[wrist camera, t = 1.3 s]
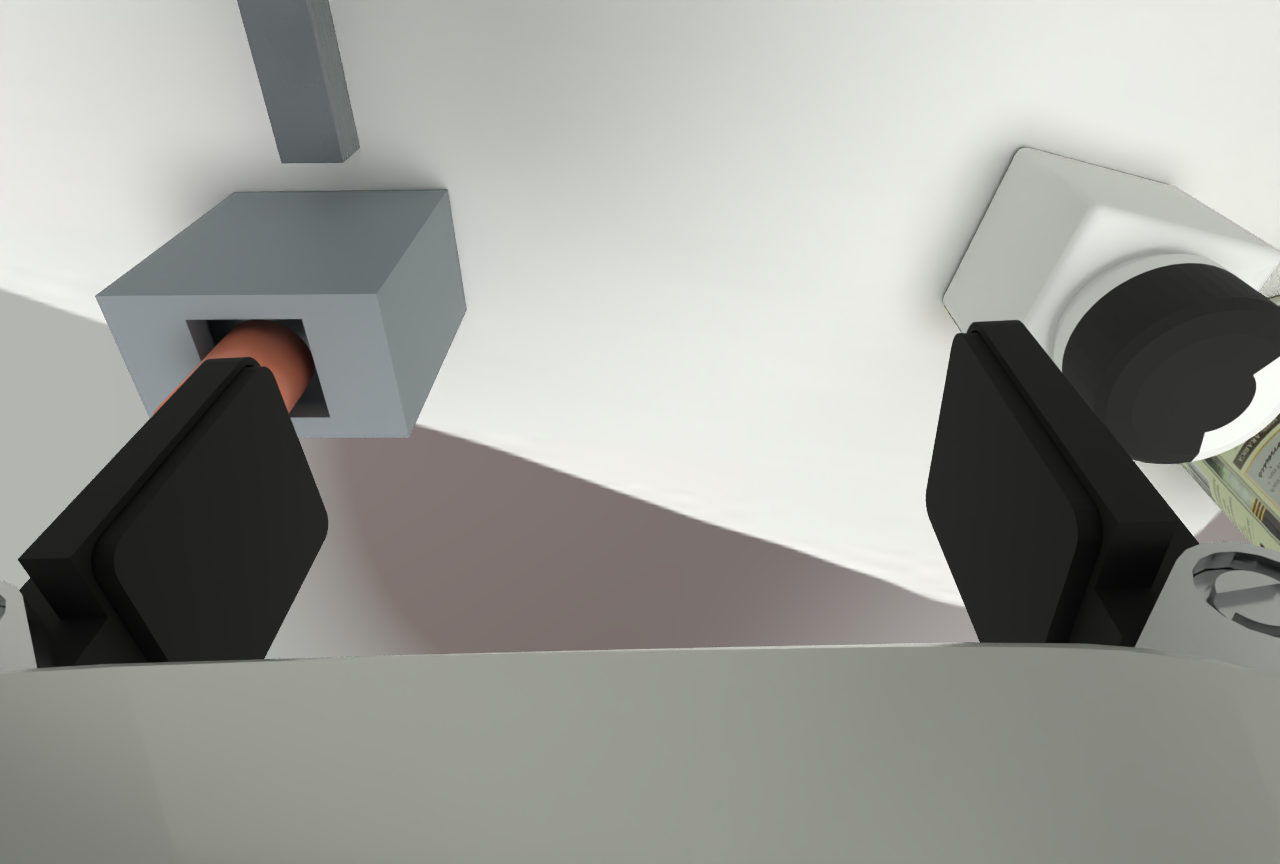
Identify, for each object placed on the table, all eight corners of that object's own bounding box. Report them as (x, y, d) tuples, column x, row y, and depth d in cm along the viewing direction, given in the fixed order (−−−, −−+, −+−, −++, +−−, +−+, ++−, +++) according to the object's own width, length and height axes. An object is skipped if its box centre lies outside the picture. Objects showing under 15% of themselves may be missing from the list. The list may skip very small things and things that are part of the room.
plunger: (212, 319, 27) (134, 397, 23) (302, 319, 26) (238, 396, 23) (240, 395, 28) (172, 480, 24) (324, 395, 28) (269, 480, 24)
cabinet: (234, 192, 33) (95, 296, 25) (447, 189, 33) (376, 293, 25) (271, 311, 37) (158, 437, 28) (466, 310, 36) (409, 437, 28)
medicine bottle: (937, 302, 36) (1042, 466, 26) (1017, 142, 32) (1177, 265, 22) (1083, 337, 36) (1238, 509, 27) (1179, 185, 32) (1403, 322, 23)
